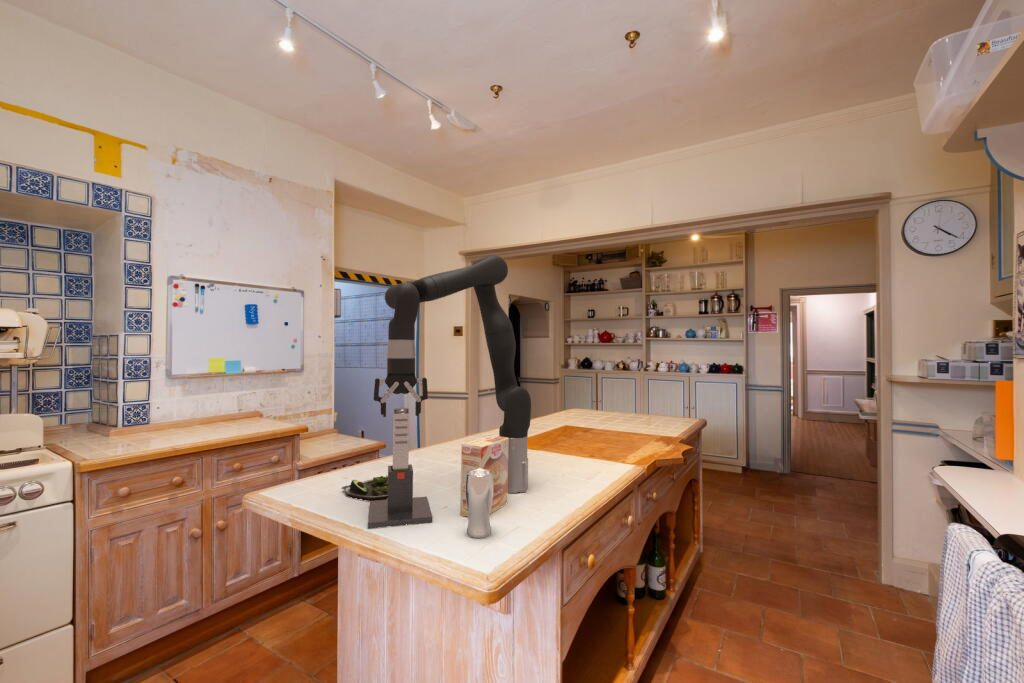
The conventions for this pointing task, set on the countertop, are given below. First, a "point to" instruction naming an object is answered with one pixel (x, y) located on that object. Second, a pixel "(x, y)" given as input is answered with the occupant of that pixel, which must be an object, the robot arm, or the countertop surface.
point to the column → (400, 439)
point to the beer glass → (479, 501)
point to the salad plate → (368, 489)
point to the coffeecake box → (486, 467)
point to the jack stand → (399, 503)
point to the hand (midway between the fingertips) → (400, 416)
